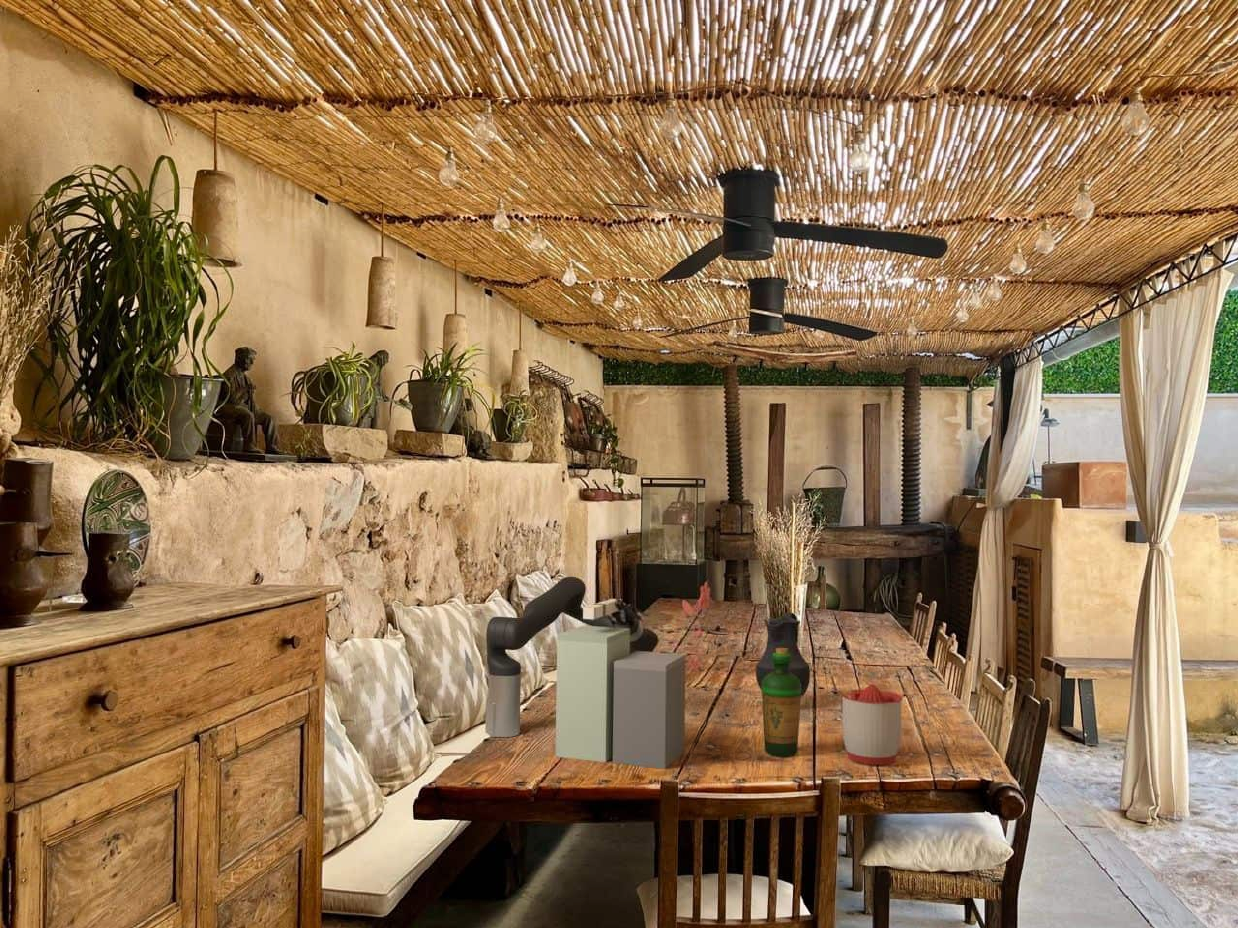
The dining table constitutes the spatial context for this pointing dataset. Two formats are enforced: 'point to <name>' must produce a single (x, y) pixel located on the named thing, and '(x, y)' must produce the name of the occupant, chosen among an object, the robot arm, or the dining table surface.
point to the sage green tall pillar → (587, 690)
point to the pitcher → (783, 636)
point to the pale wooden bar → (600, 609)
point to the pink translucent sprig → (688, 609)
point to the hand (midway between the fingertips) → (610, 601)
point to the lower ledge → (649, 709)
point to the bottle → (781, 707)
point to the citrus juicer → (871, 725)
